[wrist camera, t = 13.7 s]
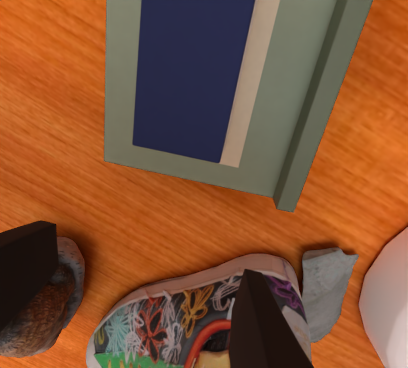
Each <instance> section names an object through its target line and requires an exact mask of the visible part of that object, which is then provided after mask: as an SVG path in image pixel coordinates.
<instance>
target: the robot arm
mask: <svg viewBox="0 0 408 368" xmlns="http://www.w3.org/2000/svg"><path fill="white" fill-rule="evenodd" d="M58 267H59V258H58V245H57V232H56V224H53V223H49V222H45V221H37V222H33V223H30V224H27V225H23V226H20V227H17V228H14V229H11V230H8V231H5V232H2V233H0V332H1V331H2V330H3V329H4V328H5V327H6V326H7V325H8V324H9V323H10V322H11V321H12V320H13V319H14V318H15V317H16V316H17V315H18V314H19V313H20V312H21V311H22V310H23V309H24V308H25V307H26V306H27V305H28V304H29V303H30V301H31V300H32V299H33V298H34V297H35V296H36V295H37V294H38V293H39V292H40V291H41V290H42V288H43V287H44V286H45V285H46V283H47V282H48V281H49V279H50V278H51V277H52V275H53V274H54V273H55V271H56V270H57V269H58ZM230 368H314V367H313V365H312V363H311V362H310V360H309V358H308V357H307V355H306V354H305V352H304V350H303V349H302V347H301V345H300V344H299V342H298V340H297V338H296V337H295V335H294V333H293V331H292V330H291V328H290V326H289V324H288V322H287V321H286V319H285V317H284V315H283V313H282V311H281V309H280V308H279V306H278V304H277V302H276V300H275V298H274V296H273V294H272V292H271V290H270V288H269V286H268V284H267V282H266V280H265V278H264V276H263V274H262V272H258V271H254V270H249V269H244V272H243V275H242V279H241V282H240V285H239V288H238V291H237V294H236V298H235V301H234V304H233V307H232V314H231V328H230Z"/></svg>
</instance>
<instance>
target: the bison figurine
mask: <svg viewBox="0 0 408 368" xmlns="http://www.w3.org/2000/svg"><path fill="white" fill-rule="evenodd" d="M57 245H58V258H59V267H58V269H57V270H56V271H55V273H54V274H53V275H52V277H51V278H50V279H49V281H48V282H47V283H46V285H45V286H44V287H43V288H42V290H41V291H40V292H39V293H38V294H37V295H36V296H35V297H34V298H33V299H32V300H31V301H30V303H29V304H28V305H27V306H26V307H25V308H24V309H23V310H22V311H21V312H20V313H19V314H18V315H17V316H16V317H15V318H14V319H13V320H12V321H11V322H10V323H9V324H8V325H7V326H6V327H5V328H4V329H3V330H2V331H1V332H0V355H2V356H6V357H17V358H20V357H25V356H33V355H35V354H38V353H42V352H45V351H46V350H48V349H49V348H51V347H52V346H53V345H54V344H55V342H56V340H57V338H58V336H59V334H60V333H61V330H62V329H64V328H66V327H67V325H68V324H69V322H70V321H71V319H72V318H73V316H74V314H75V313H76V311H77V308H78V307H79V305H80V303H81V301H82V299H83V283H84V276H85V262H84V259H83V256H82V254H81V252H80V251H79V248H78V246H77V245H76V243H75V242H74V241H72V240H71V239H69V238H66V237H57Z"/></svg>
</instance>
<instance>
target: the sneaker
mask: <svg viewBox="0 0 408 368" xmlns="http://www.w3.org/2000/svg"><path fill="white" fill-rule="evenodd" d="M244 269H249V270H254V271H258V272H262V274H263V276H264V278H265V280H266V282H267V284H268V286H269V288H270V290H271V292H272V294H273V296H274V298H275V300H276V302H277V304H278V306H279V308H280V309H281V311H282V313H283V315H284V317H285V319H286V321H287V322H288V324H289V326H290V328H291V330H292V331H293V333H294V335H295V337H296V338H297V340H298V342H299V344H300V345H301V347H302V349H303V350H304V352H305V354H306V355H307V357H308V358H309V360H310V362H311V363H312V361H311V343H310V331H309V326H308V324H307V319H306V315H305V311H304V307H303V304H302V299H301V295H300V292H299V287H298V280H297V277H296V274H295V271H294V269H293V267H292V266H291V265H290V263H289V262H288V261H287V260H285V259H284V258H281V257H277V256H273V255H269V254H248V255H245V256H241V257H238V258H235V259H233V260H230V261H228V262H226V263H224V264H222V265H219V266H217V267H214V268H210V269H207V270H204V271H201V272H198V273H195V274H191V275H188V276H183V277H177V278H171V279H166V280H162V281H158V282H154V283H151V284H147V285H145V286H143V287H141V288H139V289H137V290H135V291H133V292H132V293H130V294H129V295H127V296H126V297H123V299H121V300H120V301H119V302H118V303H116V304H115V305H114V306H113V307H112V308H111V309H110V311H109V312H108V313H107V314H106V315H105V316H104V317H103V319H102V320H101V322H100V323H99V325H98V327H97V328H96V329H95V331H94V333H93V334H92V336H91V337H90V340H89V343H88V346H87V351H86V364H87V367H88V368H230V328H231V314H232V307H233V304H234V301H235V298H236V294H237V291H238V288H239V285H240V282H241V279H242V275H243V272H244Z"/></svg>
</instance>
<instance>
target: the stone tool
mask: <svg viewBox="0 0 408 368" xmlns="http://www.w3.org/2000/svg"><path fill="white" fill-rule="evenodd" d="M358 257H359V255H358V254H353V255H347V254H345V253H343V252H342V250H341V249H340V248H339V247H335V248H328V249H322V250H310V251H306V252H305V253H304V254H303V257H302V267H303V281H302V283H303V287H302V292H301V299H302V304H303V307H304V311H305V315H306V319H307V324H308V326H309V331H310V343H311V342H313V343H315V342H317V341H318V340H321V339H322V338H323V337H324V336H325V335H327V334H328V333H330V331H331V328H332V327H333V325H334V324H335V323H336V322H337V320H338V318H339V316H340V315H341V305H342V302H343V296H344V294H345V293H346V289H347V285H348V280H349V278H350V277H351V274H352V270H353V265H354V264H355V263H356V261H357V259H358Z"/></svg>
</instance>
